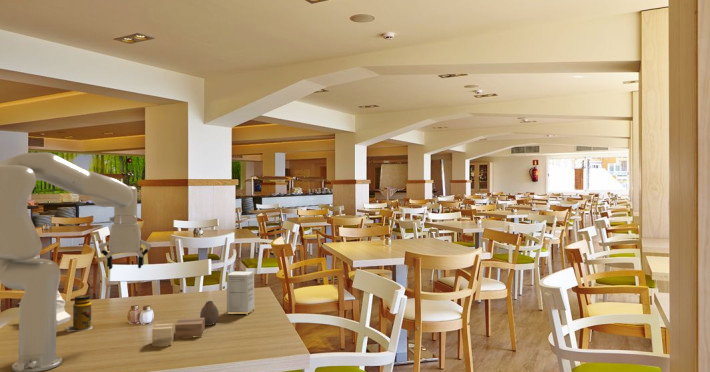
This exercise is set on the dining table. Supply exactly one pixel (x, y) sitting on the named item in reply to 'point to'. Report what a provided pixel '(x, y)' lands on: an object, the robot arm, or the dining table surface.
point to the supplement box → (240, 291)
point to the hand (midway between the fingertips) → (125, 268)
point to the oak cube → (162, 334)
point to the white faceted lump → (61, 311)
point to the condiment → (81, 314)
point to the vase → (209, 313)
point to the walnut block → (189, 327)
